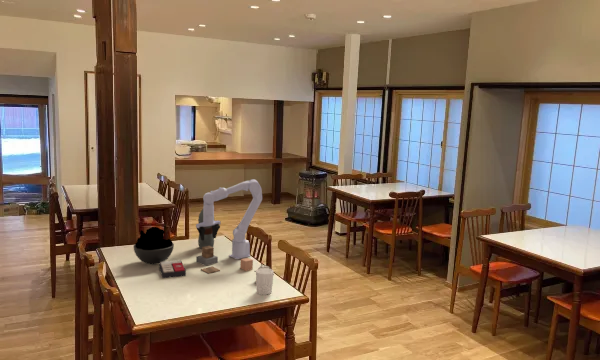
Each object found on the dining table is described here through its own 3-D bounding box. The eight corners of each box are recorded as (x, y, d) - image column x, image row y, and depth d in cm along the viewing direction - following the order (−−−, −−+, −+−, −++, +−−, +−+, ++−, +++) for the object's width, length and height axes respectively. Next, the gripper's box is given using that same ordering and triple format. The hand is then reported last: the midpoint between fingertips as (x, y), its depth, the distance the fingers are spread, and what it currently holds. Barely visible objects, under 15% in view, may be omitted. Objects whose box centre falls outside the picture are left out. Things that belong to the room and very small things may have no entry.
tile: (212, 267, 245) (212, 266, 245) (220, 270, 240) (220, 269, 240) (200, 270, 240) (200, 269, 240) (208, 273, 235) (208, 272, 235)
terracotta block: (247, 266, 248) (247, 257, 247) (252, 269, 244) (252, 259, 244) (240, 268, 244) (240, 259, 244) (245, 271, 241) (245, 261, 241)
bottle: (195, 249, 275) (195, 198, 270) (201, 244, 284) (201, 195, 279) (211, 250, 273) (211, 199, 269) (216, 246, 282) (217, 196, 278)
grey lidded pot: (267, 287, 230) (280, 272, 229) (259, 286, 222) (272, 270, 221) (255, 275, 234) (268, 259, 233) (247, 274, 226) (260, 258, 225)
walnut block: (209, 254, 255) (209, 245, 255) (213, 256, 252) (213, 247, 251) (201, 256, 252) (201, 247, 252) (206, 258, 249) (206, 249, 248)
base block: (208, 259, 258) (208, 253, 258) (217, 263, 253) (217, 256, 252) (196, 262, 252) (196, 256, 252) (205, 266, 247) (205, 259, 246)
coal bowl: (172, 256, 260) (172, 223, 257) (175, 268, 241) (174, 232, 238) (134, 258, 253) (133, 224, 251) (133, 271, 235) (132, 234, 232)
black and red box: (162, 271, 226) (159, 260, 239) (162, 280, 227) (159, 268, 240) (186, 269, 230) (181, 258, 244) (186, 277, 231) (181, 266, 244)
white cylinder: (266, 296, 209) (266, 275, 207) (251, 292, 213) (252, 271, 211) (276, 291, 215) (276, 270, 214) (262, 287, 220) (262, 266, 218)
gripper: (215, 211, 265) (215, 235, 267) (193, 215, 255) (192, 239, 257) (222, 214, 260) (222, 238, 262) (200, 217, 250) (199, 242, 252)
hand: (208, 238), depth 259 cm, fingers open, 7 cm apart
